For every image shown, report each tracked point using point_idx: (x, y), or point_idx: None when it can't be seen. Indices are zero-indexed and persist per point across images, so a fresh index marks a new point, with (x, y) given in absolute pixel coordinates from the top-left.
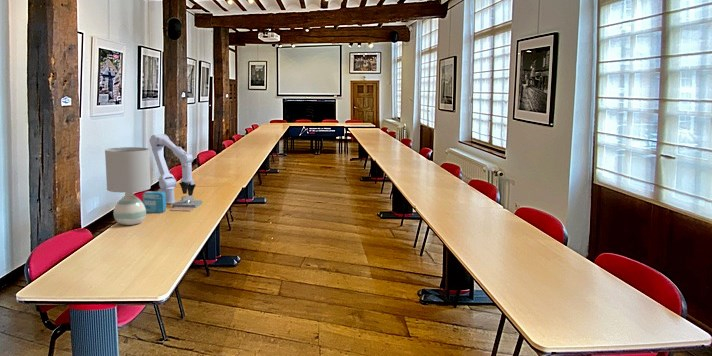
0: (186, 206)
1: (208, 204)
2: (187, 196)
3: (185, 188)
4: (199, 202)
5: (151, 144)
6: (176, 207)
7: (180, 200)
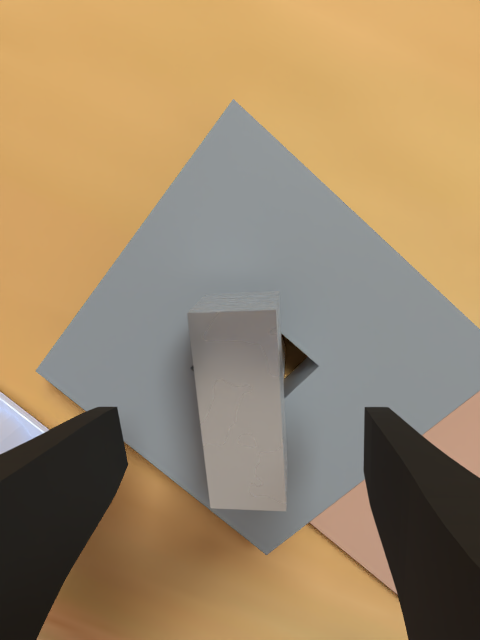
0: None
1: (366, 42)
2: (267, 433)
3: (45, 505)
4: (354, 212)
5: None
6: (341, 524)
7: (77, 390)
